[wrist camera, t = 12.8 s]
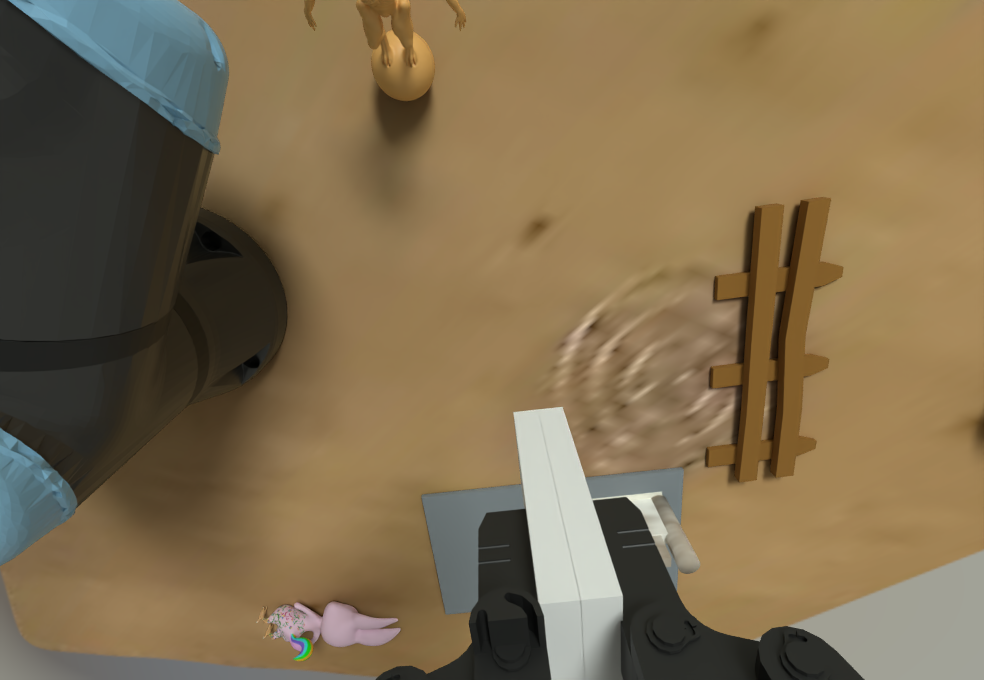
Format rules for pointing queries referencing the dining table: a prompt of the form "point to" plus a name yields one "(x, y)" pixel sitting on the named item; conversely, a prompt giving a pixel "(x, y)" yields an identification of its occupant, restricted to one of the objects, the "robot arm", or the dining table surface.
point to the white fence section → (668, 533)
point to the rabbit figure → (327, 627)
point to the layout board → (464, 510)
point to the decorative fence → (792, 334)
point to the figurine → (396, 47)
